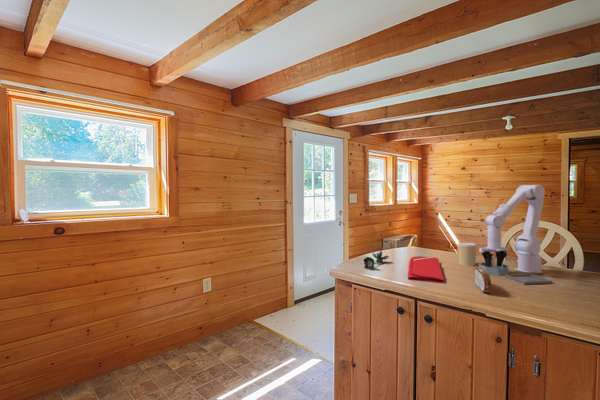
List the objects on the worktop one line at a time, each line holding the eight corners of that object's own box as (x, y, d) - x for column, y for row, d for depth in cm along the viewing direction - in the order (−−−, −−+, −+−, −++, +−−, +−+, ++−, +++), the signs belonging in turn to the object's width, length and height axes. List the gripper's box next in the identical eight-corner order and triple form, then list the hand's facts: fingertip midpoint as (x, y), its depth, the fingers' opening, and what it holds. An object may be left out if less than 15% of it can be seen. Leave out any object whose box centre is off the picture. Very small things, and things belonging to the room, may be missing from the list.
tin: (492, 295, 120) (492, 274, 120) (483, 295, 121) (483, 274, 121) (481, 284, 134) (481, 265, 134) (473, 283, 135) (473, 265, 135)
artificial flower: (360, 270, 163) (356, 252, 165) (380, 267, 179) (376, 250, 182) (374, 269, 157) (371, 249, 160) (394, 266, 174) (390, 248, 176)
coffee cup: (471, 263, 172) (472, 242, 171) (480, 267, 163) (480, 245, 162) (454, 263, 173) (454, 242, 172) (461, 267, 164) (462, 245, 163)
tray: (530, 277, 145) (530, 273, 145) (551, 284, 134) (551, 280, 134) (505, 278, 144) (505, 274, 144) (524, 285, 133) (524, 281, 133)
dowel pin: (494, 271, 154) (494, 256, 153) (497, 272, 151) (498, 257, 151) (489, 271, 153) (489, 256, 153) (493, 272, 151) (493, 257, 150)
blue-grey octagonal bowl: (495, 269, 159) (495, 261, 159) (514, 276, 147) (515, 267, 147) (473, 270, 158) (473, 262, 157) (491, 277, 145) (491, 268, 145)
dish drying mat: (407, 281, 142) (407, 273, 141) (409, 261, 180) (409, 255, 180) (444, 284, 136) (444, 276, 136) (438, 263, 174) (438, 257, 174)
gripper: (486, 240, 147) (486, 268, 147) (514, 240, 148) (513, 267, 149) (476, 238, 154) (476, 265, 154) (502, 237, 155) (502, 264, 156)
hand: (493, 266), depth 152 cm, fingers open, 5 cm apart
